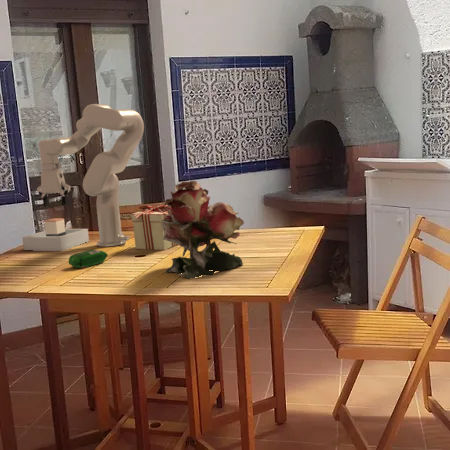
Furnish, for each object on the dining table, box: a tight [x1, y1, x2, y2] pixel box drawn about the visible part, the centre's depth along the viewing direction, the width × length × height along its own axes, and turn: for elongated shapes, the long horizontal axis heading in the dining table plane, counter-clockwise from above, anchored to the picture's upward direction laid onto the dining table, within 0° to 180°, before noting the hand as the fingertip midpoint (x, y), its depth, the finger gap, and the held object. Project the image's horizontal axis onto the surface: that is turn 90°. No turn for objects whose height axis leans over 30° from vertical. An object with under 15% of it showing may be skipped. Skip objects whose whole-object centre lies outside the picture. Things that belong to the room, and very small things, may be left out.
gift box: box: [130, 204, 178, 251], centre depth 262 cm, size 17×18×17 cm
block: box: [46, 232, 66, 237], centre depth 282 cm, size 6×6×5 cm
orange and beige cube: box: [44, 217, 66, 234], centre depth 281 cm, size 6×6×6 cm
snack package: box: [68, 249, 108, 269], centre depth 237 cm, size 7×16×5 cm, turn 139°
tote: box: [21, 228, 90, 252], centre depth 282 cm, size 20×20×6 cm
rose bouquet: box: [161, 180, 245, 280], centre depth 218 cm, size 26×29×30 cm
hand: (55, 205), depth 286 cm, fingers open, 9 cm apart
